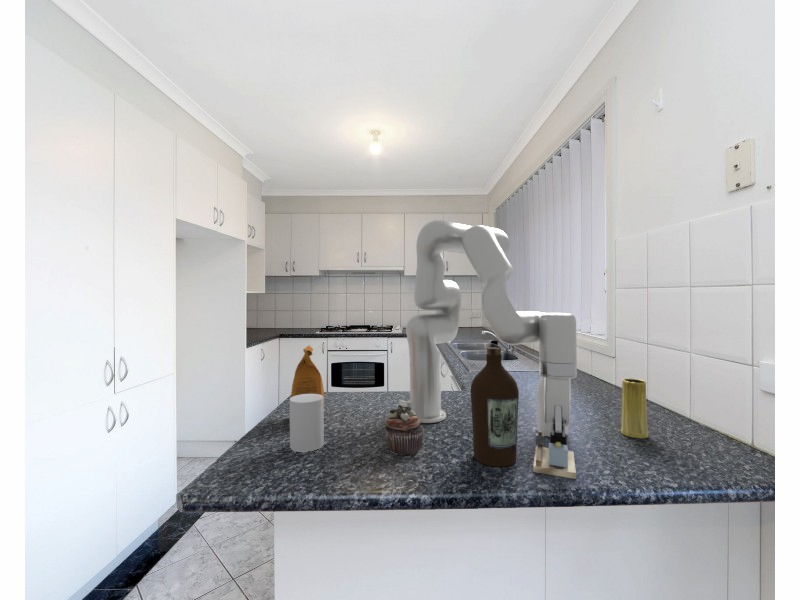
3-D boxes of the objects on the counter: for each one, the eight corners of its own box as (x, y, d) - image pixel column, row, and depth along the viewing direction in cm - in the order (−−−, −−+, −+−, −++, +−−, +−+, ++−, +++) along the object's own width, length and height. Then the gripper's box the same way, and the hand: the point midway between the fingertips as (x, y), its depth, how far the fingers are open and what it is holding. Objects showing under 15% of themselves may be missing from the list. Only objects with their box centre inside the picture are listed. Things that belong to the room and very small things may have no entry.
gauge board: (533, 471, 75) (533, 447, 75) (535, 451, 86) (535, 430, 86) (575, 478, 72) (575, 454, 72) (573, 456, 82) (573, 434, 82)
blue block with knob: (548, 464, 75) (548, 444, 75) (549, 458, 78) (548, 438, 78) (567, 467, 74) (567, 446, 74) (567, 461, 77) (567, 441, 77)
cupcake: (417, 459, 82) (417, 415, 82) (378, 453, 85) (378, 411, 85) (429, 443, 91) (429, 403, 91) (393, 438, 94) (393, 400, 94)
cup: (329, 442, 92) (329, 395, 92) (312, 455, 85) (311, 403, 84) (302, 438, 95) (302, 392, 95) (283, 450, 87) (282, 400, 87)
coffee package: (325, 412, 116) (325, 344, 116) (323, 426, 104) (323, 349, 104) (293, 414, 114) (293, 345, 114) (288, 428, 102) (287, 350, 102)
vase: (645, 432, 97) (645, 379, 97) (650, 440, 92) (650, 384, 91) (619, 429, 100) (619, 377, 100) (622, 436, 94) (622, 382, 94)
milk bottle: (571, 439, 92) (570, 361, 92) (539, 437, 94) (539, 360, 94) (564, 428, 100) (563, 356, 100) (534, 427, 102) (534, 356, 102)
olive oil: (463, 450, 86) (462, 346, 86) (504, 446, 89) (503, 344, 89) (483, 471, 76) (482, 352, 76) (528, 465, 78) (528, 350, 78)
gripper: (540, 362, 88) (540, 438, 88) (538, 374, 74) (538, 464, 74) (574, 364, 85) (575, 442, 85) (579, 377, 71) (579, 470, 71)
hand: (558, 452), depth 79 cm, fingers closed
